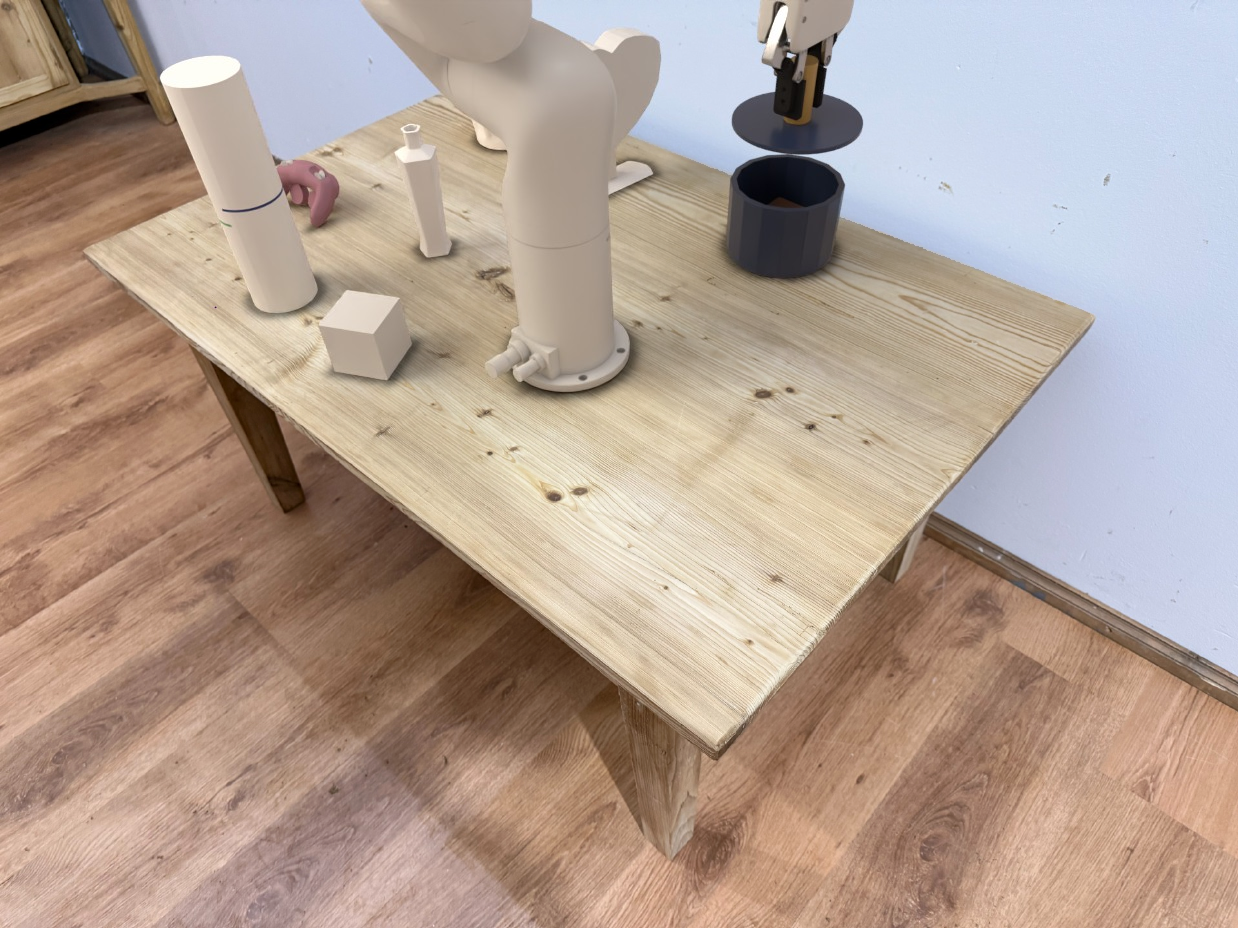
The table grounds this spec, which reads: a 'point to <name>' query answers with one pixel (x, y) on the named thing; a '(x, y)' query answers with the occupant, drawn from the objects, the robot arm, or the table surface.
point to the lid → (798, 121)
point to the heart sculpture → (628, 91)
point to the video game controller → (314, 177)
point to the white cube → (366, 334)
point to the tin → (783, 215)
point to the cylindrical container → (241, 179)
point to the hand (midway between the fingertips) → (797, 108)
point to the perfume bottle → (424, 191)
